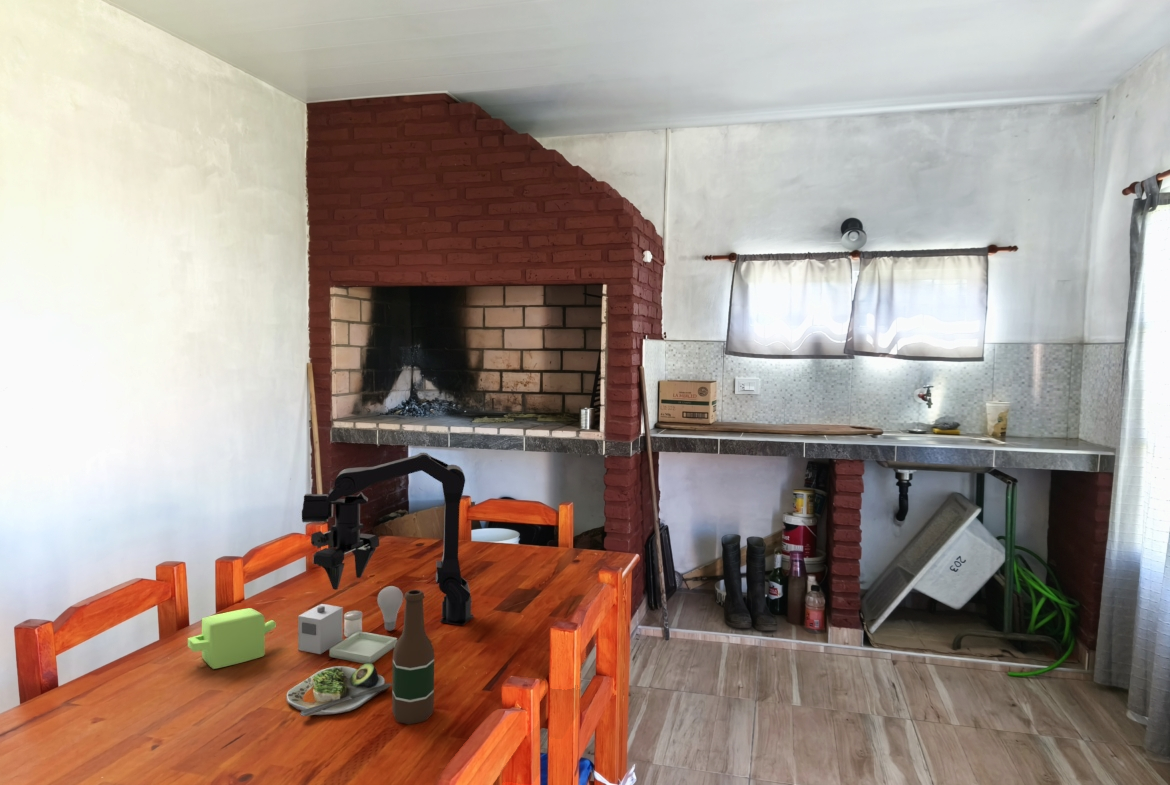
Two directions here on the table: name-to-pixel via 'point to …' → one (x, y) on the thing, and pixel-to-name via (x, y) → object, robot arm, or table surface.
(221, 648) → the gearbox
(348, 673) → the salad plate
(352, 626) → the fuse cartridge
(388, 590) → the lightbulb
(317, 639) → the box
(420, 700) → the beer bottle
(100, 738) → the table surface
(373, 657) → the tray
